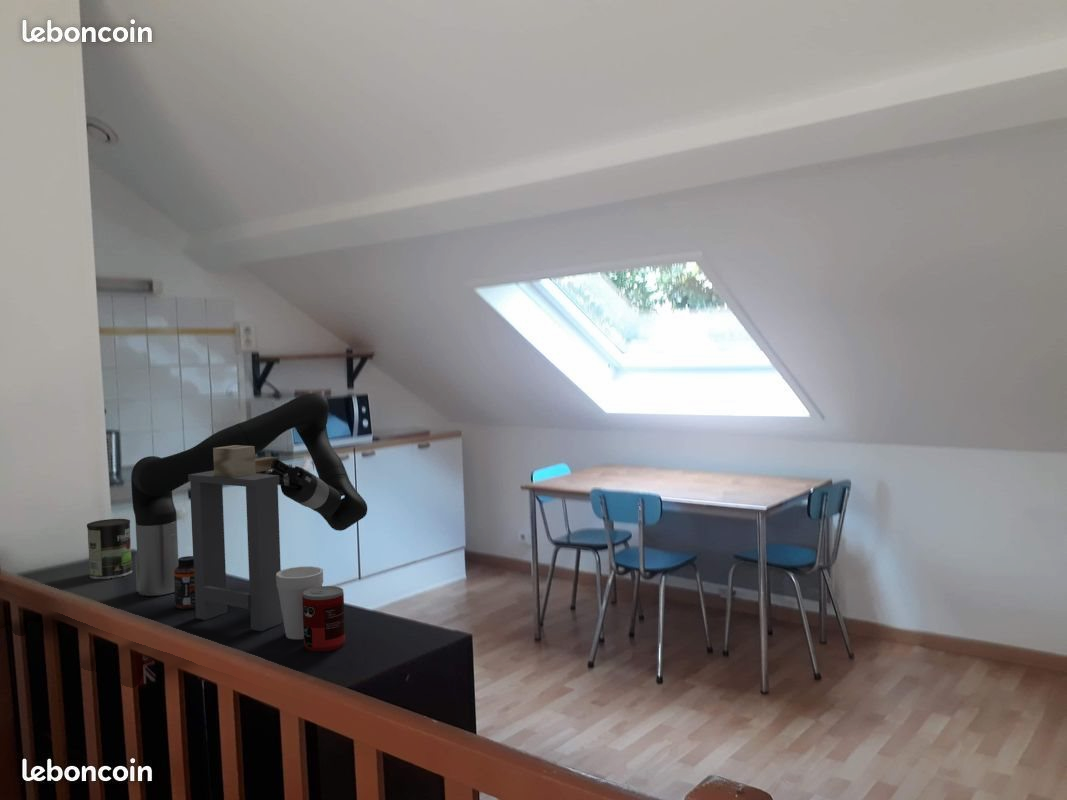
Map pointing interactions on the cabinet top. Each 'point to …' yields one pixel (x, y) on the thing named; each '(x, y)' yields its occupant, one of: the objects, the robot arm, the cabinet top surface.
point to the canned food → (323, 618)
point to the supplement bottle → (184, 583)
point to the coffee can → (109, 548)
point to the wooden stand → (260, 548)
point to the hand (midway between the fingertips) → (259, 462)
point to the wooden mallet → (239, 461)
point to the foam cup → (296, 595)
